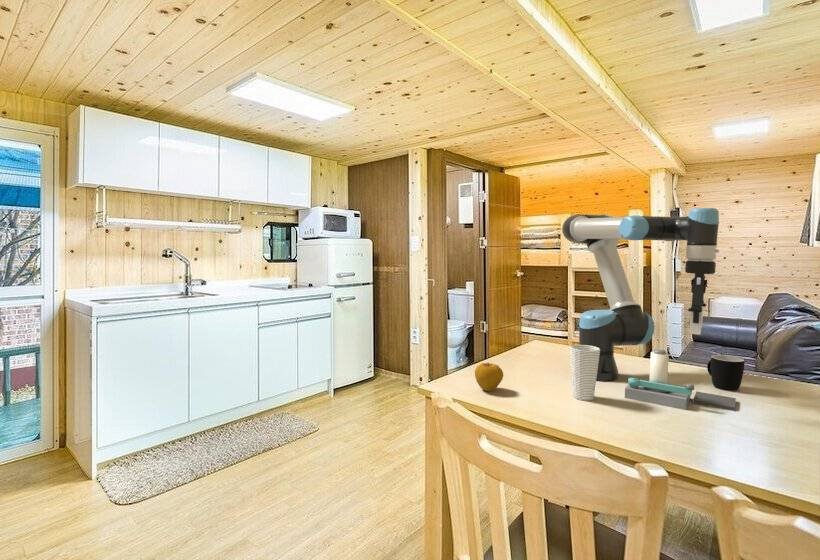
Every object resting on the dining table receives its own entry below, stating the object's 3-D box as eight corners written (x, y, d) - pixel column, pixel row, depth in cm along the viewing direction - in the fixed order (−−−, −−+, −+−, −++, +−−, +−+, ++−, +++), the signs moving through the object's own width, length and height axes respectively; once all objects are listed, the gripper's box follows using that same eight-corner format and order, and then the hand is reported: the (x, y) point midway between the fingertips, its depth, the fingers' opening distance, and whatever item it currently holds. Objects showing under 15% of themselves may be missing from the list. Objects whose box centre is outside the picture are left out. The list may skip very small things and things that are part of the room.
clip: (627, 384, 134) (627, 375, 134) (629, 382, 137) (629, 373, 137) (693, 396, 124) (693, 386, 124) (694, 393, 126) (694, 384, 126)
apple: (505, 388, 143) (506, 360, 142) (499, 396, 135) (499, 367, 134) (478, 384, 146) (479, 357, 146) (470, 391, 138) (471, 364, 138)
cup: (597, 394, 137) (599, 345, 136) (599, 403, 129) (601, 351, 128) (568, 391, 139) (569, 343, 138) (568, 400, 131) (570, 349, 130)
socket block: (624, 397, 134) (625, 385, 134) (632, 388, 144) (633, 376, 143) (685, 409, 124) (686, 396, 124) (690, 398, 134) (691, 386, 134)
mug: (750, 392, 141) (751, 361, 140) (725, 393, 140) (727, 361, 139) (718, 381, 153) (720, 352, 152) (695, 381, 151) (697, 353, 151)
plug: (640, 398, 133) (642, 351, 132) (645, 392, 140) (647, 346, 139) (670, 404, 128) (673, 355, 127) (674, 397, 135) (676, 350, 134)
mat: (692, 402, 130) (693, 399, 130) (696, 394, 138) (696, 391, 138) (734, 410, 124) (734, 407, 124) (735, 401, 132) (735, 398, 132)
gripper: (715, 261, 118) (710, 339, 120) (716, 259, 139) (711, 325, 140) (683, 260, 123) (678, 335, 124) (688, 259, 143) (684, 323, 145)
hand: (695, 330), depth 132 cm, fingers open, 13 cm apart
